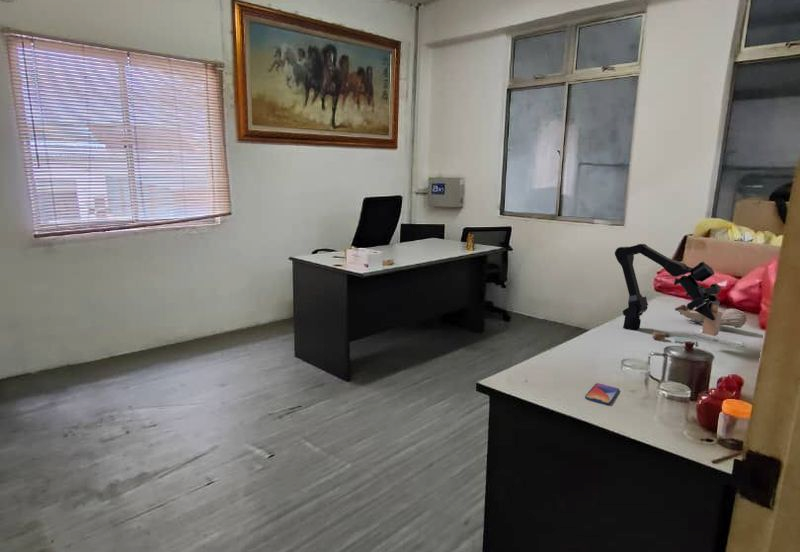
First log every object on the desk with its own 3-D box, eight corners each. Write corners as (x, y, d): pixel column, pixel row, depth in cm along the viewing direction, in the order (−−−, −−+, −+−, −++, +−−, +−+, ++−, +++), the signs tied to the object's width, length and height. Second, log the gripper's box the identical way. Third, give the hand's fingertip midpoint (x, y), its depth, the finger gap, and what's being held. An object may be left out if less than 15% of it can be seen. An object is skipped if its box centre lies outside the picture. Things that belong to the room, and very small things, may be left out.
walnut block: (654, 340, 215) (655, 333, 214) (652, 337, 219) (653, 331, 218) (664, 341, 214) (665, 335, 213) (662, 339, 217) (663, 332, 217)
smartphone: (619, 391, 158) (620, 388, 158) (609, 406, 146) (609, 403, 146) (595, 385, 162) (596, 382, 162) (583, 399, 150) (584, 396, 150)
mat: (674, 342, 213) (675, 340, 212) (674, 337, 220) (674, 336, 220) (696, 346, 209) (696, 344, 209) (694, 341, 216) (694, 339, 216)
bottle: (701, 332, 206) (707, 301, 203) (706, 331, 208) (711, 299, 206) (713, 335, 202) (719, 303, 199) (718, 334, 205) (724, 302, 202)
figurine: (672, 327, 250) (742, 339, 229) (672, 307, 247) (742, 316, 225) (681, 317, 258) (749, 327, 236) (680, 297, 254) (749, 306, 232)
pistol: (747, 343, 218) (741, 348, 211) (697, 332, 233) (690, 336, 225) (748, 338, 218) (742, 343, 210) (698, 327, 232) (691, 331, 224)
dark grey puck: (654, 335, 221) (654, 335, 221) (654, 332, 227) (654, 331, 227) (669, 338, 219) (669, 337, 219) (668, 334, 224) (668, 334, 224)
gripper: (700, 279, 198) (725, 312, 192) (718, 275, 210) (742, 306, 203) (676, 294, 206) (700, 326, 199) (695, 289, 217) (718, 320, 211)
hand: (716, 319), depth 203 cm, fingers closed on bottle, 5 cm apart
